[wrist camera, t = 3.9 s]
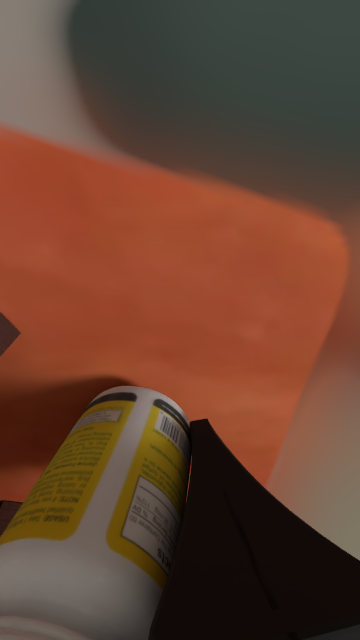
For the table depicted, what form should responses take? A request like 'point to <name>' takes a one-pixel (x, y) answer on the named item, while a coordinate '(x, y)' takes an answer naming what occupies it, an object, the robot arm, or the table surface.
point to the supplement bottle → (99, 524)
